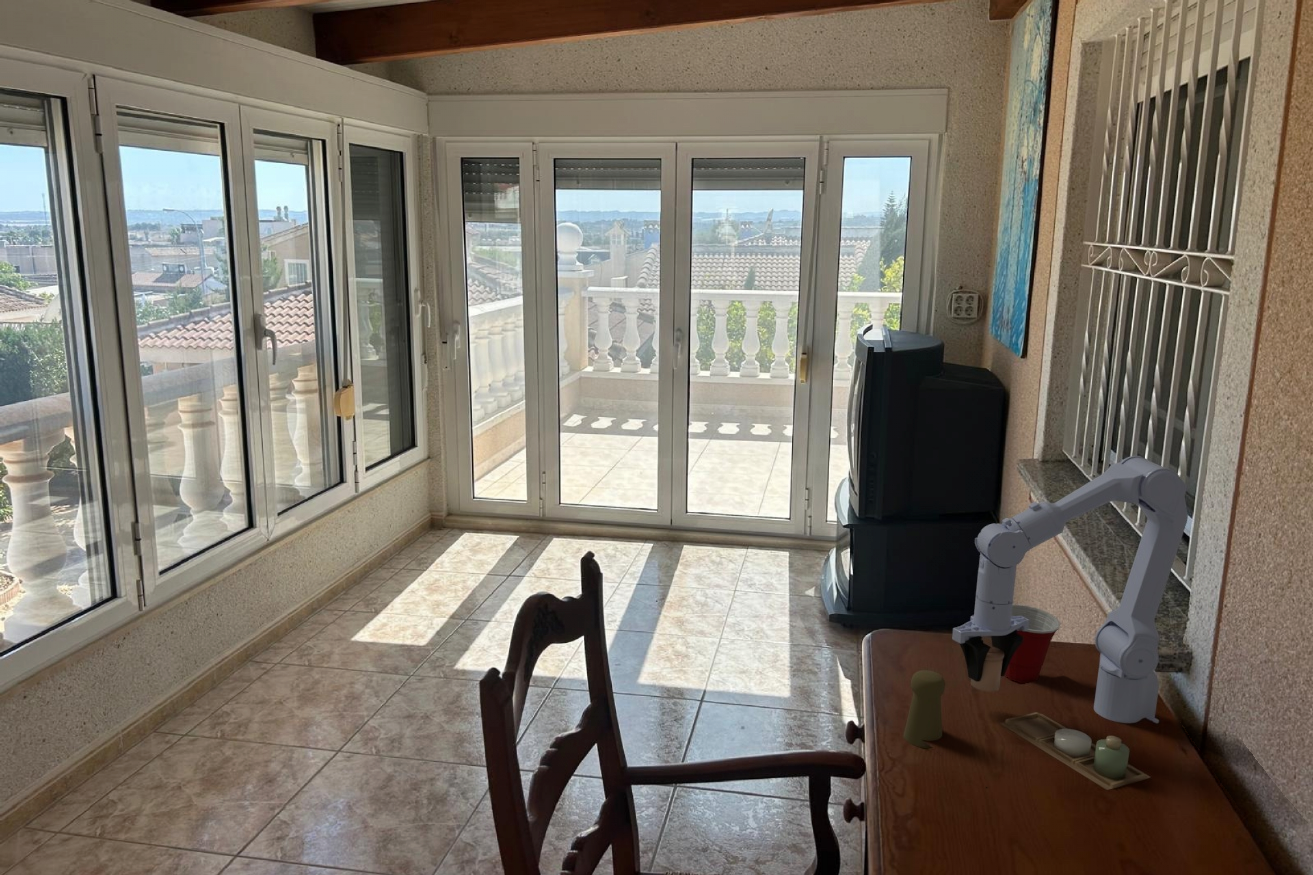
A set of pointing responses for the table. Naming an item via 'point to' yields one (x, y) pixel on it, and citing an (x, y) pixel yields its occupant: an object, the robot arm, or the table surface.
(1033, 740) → the tray
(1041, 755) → the table surface
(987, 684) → the spice jar
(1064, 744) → the white rounded disc
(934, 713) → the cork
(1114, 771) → the green jar
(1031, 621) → the plastic cup
